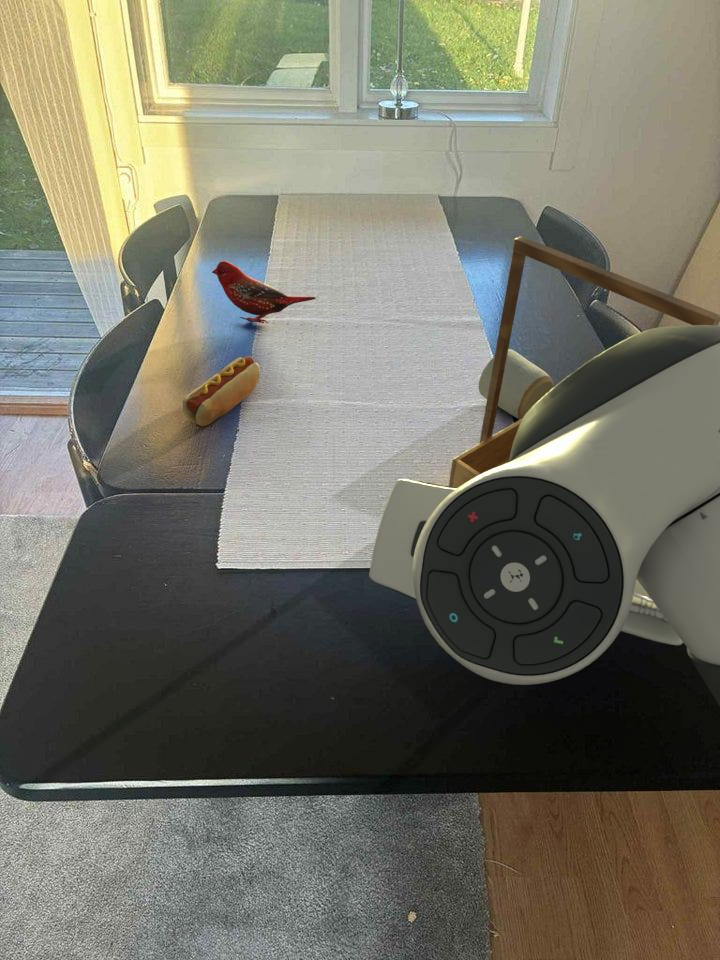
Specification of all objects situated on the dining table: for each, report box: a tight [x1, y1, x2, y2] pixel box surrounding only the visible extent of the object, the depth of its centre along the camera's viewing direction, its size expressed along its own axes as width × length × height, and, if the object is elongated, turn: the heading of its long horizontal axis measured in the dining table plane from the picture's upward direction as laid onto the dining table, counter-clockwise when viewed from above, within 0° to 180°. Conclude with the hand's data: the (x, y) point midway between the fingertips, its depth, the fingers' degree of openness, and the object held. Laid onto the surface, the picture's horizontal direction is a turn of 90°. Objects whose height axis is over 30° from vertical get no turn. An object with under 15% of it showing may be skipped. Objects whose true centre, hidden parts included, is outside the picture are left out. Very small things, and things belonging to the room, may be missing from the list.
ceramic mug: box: [478, 348, 555, 420], centre depth 98 cm, size 11×8×8 cm
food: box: [182, 355, 261, 427], centre depth 97 cm, size 14×6×5 cm, turn 152°
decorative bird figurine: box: [211, 260, 317, 324], centre depth 113 cm, size 3×18×10 cm, turn 74°
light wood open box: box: [448, 418, 523, 487], centre depth 82 cm, size 19×13×6 cm
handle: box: [478, 236, 720, 444], centre depth 74 cm, size 21×1×30 cm, turn 41°
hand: (528, 567), depth 52 cm, fingers closed on beverage cup, 5 cm apart
